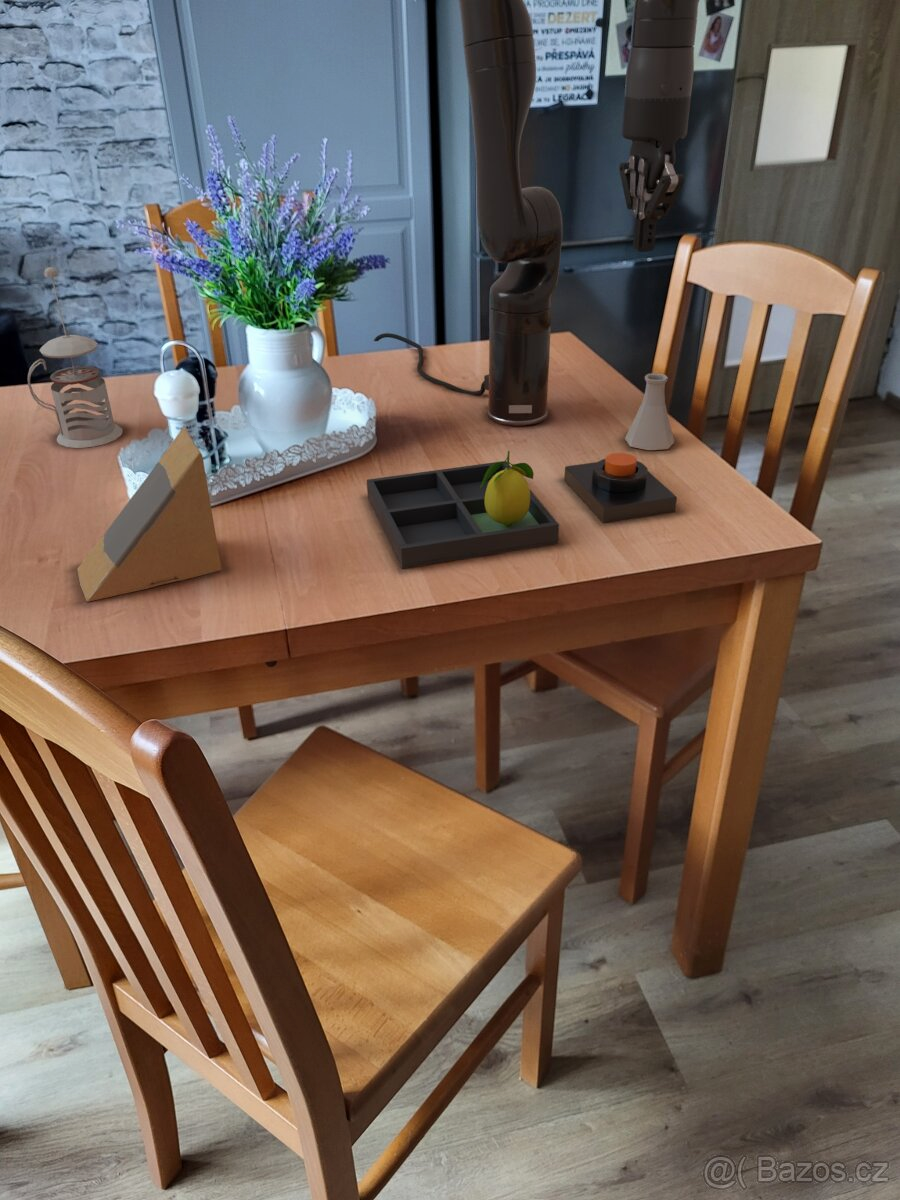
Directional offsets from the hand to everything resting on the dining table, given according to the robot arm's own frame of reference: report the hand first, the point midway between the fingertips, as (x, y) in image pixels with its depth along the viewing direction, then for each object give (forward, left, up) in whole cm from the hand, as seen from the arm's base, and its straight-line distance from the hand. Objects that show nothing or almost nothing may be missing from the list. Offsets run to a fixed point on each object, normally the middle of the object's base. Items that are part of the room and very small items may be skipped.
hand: (643, 250), depth 116 cm
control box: (+9, -5, -29) cm, 31 cm away
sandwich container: (+10, -65, -29) cm, 72 cm away
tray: (+9, -27, -29) cm, 41 cm away
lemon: (+14, -22, -28) cm, 39 cm away
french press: (-35, -74, -29) cm, 87 cm away
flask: (-6, +7, -29) cm, 31 cm away
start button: (+9, -5, -25) cm, 27 cm away
